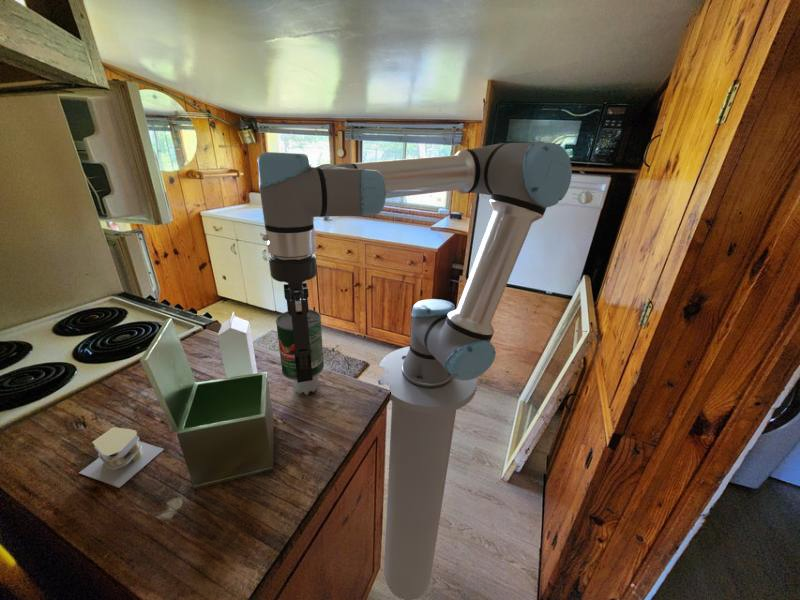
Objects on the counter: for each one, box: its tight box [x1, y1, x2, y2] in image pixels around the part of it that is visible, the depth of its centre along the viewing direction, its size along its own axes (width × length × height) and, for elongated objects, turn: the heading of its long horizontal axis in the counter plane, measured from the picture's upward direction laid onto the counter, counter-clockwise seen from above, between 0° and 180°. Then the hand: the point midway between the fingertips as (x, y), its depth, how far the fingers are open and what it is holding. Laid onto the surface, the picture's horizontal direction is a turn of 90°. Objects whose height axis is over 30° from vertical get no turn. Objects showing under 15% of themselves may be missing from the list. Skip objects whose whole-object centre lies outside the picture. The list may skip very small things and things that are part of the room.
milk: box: [216, 310, 258, 378], centre depth 79 cm, size 6×6×22 cm
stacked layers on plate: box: [78, 426, 165, 488], centre depth 63 cm, size 10×9×6 cm
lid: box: [139, 317, 197, 433], centre depth 56 cm, size 14×14×1 cm
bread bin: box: [176, 371, 275, 490], centre depth 64 cm, size 14×14×14 cm
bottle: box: [292, 374, 320, 396], centre depth 82 cm, size 7×7×20 cm
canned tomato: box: [275, 309, 325, 381], centre depth 61 cm, size 8×8×11 cm
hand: (303, 366), depth 63 cm, fingers closed on canned tomato, 8 cm apart
